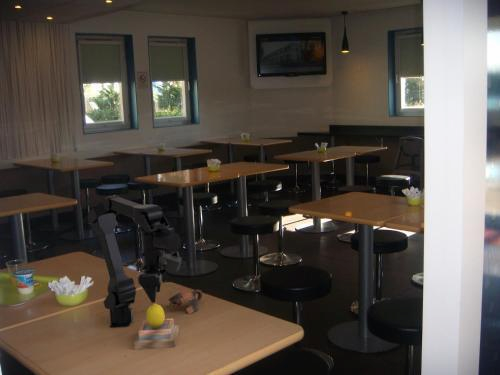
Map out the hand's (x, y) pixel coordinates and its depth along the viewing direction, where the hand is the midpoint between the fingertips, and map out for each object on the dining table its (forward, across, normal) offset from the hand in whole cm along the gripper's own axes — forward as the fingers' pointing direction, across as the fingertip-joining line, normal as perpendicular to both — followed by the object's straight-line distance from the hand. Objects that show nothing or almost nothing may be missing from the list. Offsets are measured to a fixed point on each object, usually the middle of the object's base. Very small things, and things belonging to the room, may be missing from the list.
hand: (155, 297), depth 174 cm
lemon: (+10, -2, 0) cm, 10 cm away
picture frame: (+13, -2, 0) cm, 13 cm away
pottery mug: (+13, +23, -7) cm, 27 cm away
